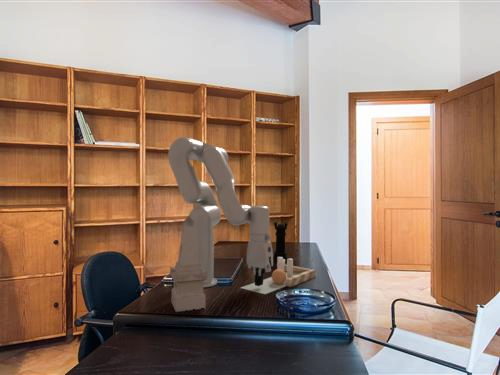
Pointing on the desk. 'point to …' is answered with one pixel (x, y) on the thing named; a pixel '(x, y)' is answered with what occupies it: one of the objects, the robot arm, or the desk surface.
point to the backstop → (299, 275)
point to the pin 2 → (289, 268)
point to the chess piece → (280, 241)
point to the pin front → (281, 264)
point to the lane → (266, 286)
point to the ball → (279, 276)
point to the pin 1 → (278, 261)
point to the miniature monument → (188, 272)
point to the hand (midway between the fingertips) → (258, 284)
